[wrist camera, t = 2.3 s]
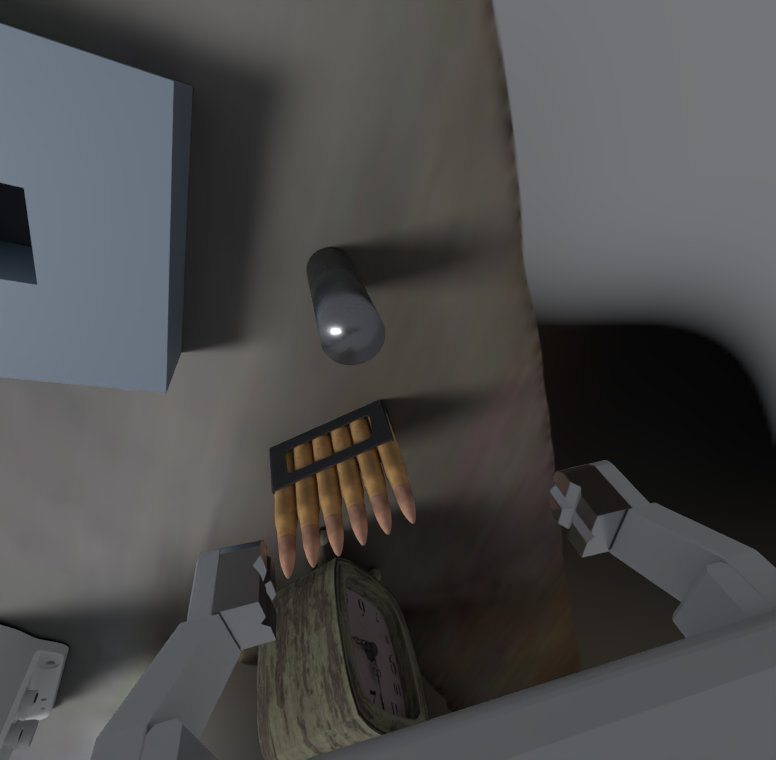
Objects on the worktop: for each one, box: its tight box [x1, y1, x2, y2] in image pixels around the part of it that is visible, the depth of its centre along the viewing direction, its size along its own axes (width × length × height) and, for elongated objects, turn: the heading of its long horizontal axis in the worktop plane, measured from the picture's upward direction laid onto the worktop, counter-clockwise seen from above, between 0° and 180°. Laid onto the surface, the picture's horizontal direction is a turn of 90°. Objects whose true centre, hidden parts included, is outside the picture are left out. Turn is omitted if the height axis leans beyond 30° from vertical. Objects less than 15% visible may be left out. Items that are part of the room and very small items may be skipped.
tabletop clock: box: [257, 530, 431, 760], centre depth 36 cm, size 14×9×25 cm, turn 31°
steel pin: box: [307, 247, 385, 365], centre depth 24 cm, size 3×3×10 cm
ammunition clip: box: [270, 400, 416, 579], centre depth 31 cm, size 11×2×12 cm, turn 110°
